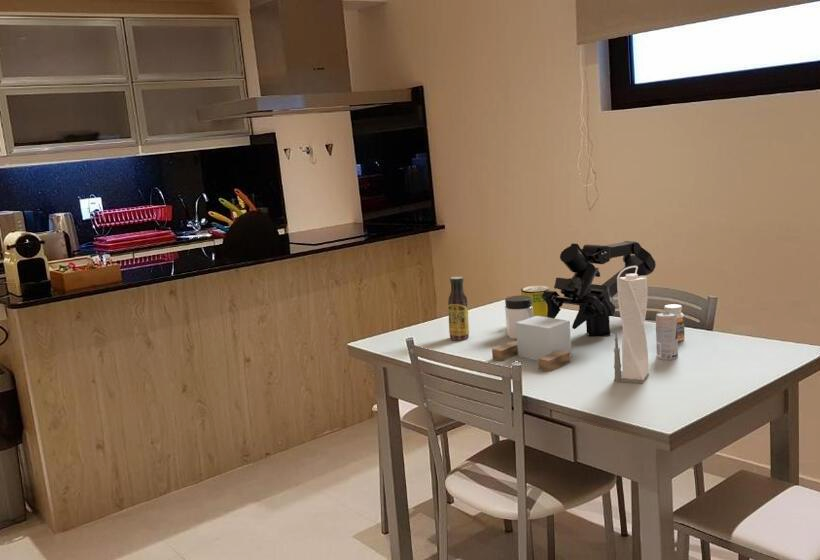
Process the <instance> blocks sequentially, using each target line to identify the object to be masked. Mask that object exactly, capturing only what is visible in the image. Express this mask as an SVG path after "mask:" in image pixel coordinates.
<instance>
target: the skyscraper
mask: <svg viewBox="0 0 820 560" xmlns="http://www.w3.org/2000/svg"><path fill="white" fill-rule="evenodd" d="M623 268H624V267H623ZM623 268H622V269H623ZM629 268H636V270H635V274H634V273H631V274H626V277H620V278H619V276H620V274H621V273H622V272H623V271H624V270H626V269H629ZM622 269H621V270H622ZM637 270H638V266H629V267H626V268H624V269H623V270H622V271H621V272H620V273H619V275H618V276H617V289H618V293H617V302H618V309H619V315H620V321H621V325H622V332H621V333H622V336H621V348H620V347H619V342H618V341H619V338H618V332H617V331H615V332H614V333H615V338H614V348H613V352H614V359H613V360H614V362H613V363H614V365H613V368H614V369H613V370H614V378H613V383H615V382H616V383H627V384H639V385H640V384H641V385H643V383H645V381H646V379H648V377H649V375H650V371H649V369H650V368H649V365H650V364H649V349H648V341H647V340H648V339H647V332H646V327H645V322H646V315H647V307H648V275H647V276H638V275H637ZM620 350H621V351H620ZM620 352H621V354H620ZM621 359H622V361H621ZM621 362H622V363H621Z"/></svg>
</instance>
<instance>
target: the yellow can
mask: <svg viewBox="0 0 820 560" xmlns="http://www.w3.org/2000/svg"><path fill="white" fill-rule="evenodd" d="M546 290H549V291H550V287H549V286H546V285H529V286H525V287H522V288H521V289H520V291H521V292H520V293H521V294H520V295H524V296H530V297H531V300H532V307H533V317H534V316H542V317H547V313H548V306H547V303H546V302H545V301H544V299H543V298H542V294H543V292H544V291H546Z"/></svg>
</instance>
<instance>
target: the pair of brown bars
mask: <svg viewBox="0 0 820 560" xmlns="http://www.w3.org/2000/svg"><path fill="white" fill-rule="evenodd" d="M491 354H492V360H496V361H499V362H500V361H501V362H503V361H505V359H506V360H508V359H511V358H514V357H516V356H518V347H517V341H513V340H512V341H511V342H507V343H504V344H502V345H499V346H496V347H493V348H491ZM537 361H538V364H537V365H538V370H540V371H543V372H549V373H550V372H552V371H554V370H556V369H559V368H561V367H564V366H566V365H568V364H570V363H571V355H570V352H566V351H561V350H559V351H556V352H554V353H551V354H549V355H546V356H544V357H541V358H539V359H538V360H537Z"/></svg>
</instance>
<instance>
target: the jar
mask: <svg viewBox="0 0 820 560" xmlns="http://www.w3.org/2000/svg"><path fill="white" fill-rule="evenodd" d="M504 301H505V302H504V303H505V306H504V311H505V323H506V324H505V325H506V335H507V337H509V339H511V340H513V339H516V340H517V333H516V323H517V322H519V321H522V320H525V319H528V318H531V317H533V307H532V300H531V297H530V296H524V295H521V294H519V295H512V296H511V295H510V296H508V297H506V298H505V300H504Z"/></svg>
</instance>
